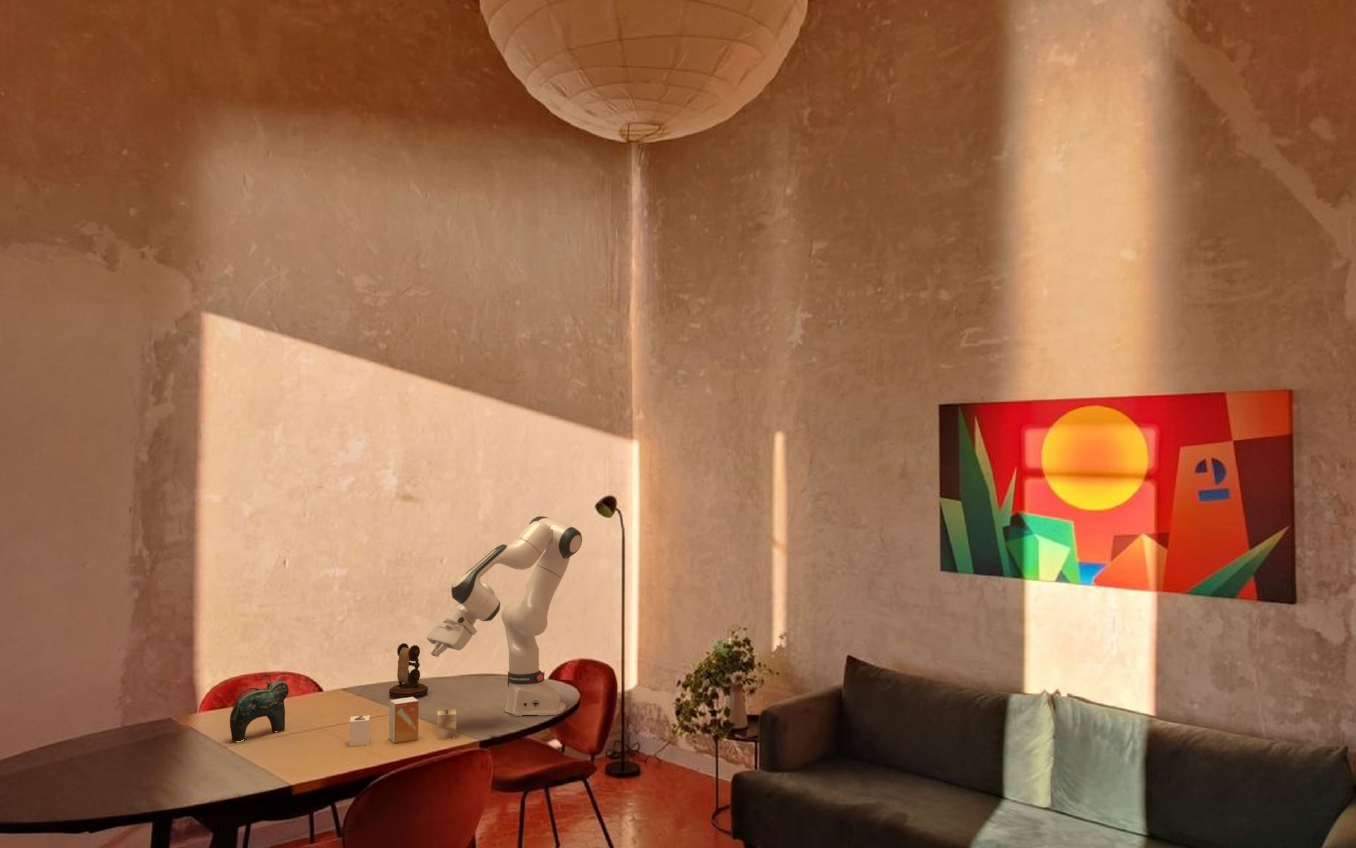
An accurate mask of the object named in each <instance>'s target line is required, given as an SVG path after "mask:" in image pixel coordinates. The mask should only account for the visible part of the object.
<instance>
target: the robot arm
mask: <svg viewBox="0 0 1356 848" xmlns="http://www.w3.org/2000/svg"><path fill="white" fill-rule="evenodd" d="M582 542H583V536H582V533H581V531H580V530H578V529H577V528H575V527H573V526H570V524H567V523H564V522H562V521H559V520H555V519H554V518H553V519H552V518H549V517H546V516H536V517H534V518H532V520H531V521H530V522H529V523H528V525H527V526H526V527H525V528H524V529H523V530H522V531H521V532H520V533H519V534H518V535H517V536H516V538H514V540H513V541H512V542H511V543H509V544H500V545H497V546H496V547H495V548H494V549H493V550H492V549H491V551H490V552H489V553H487V554H486V555H485V556H483V557H482V558H481V560H479V561H478V562H477V563H475V564H474V566H472V567H471V568H470V569H469V570H468V571H466V572H465V573H464V574H463V575H461V576H460V577H459V578H457V579H456V580H455V581H454V582H453V583H452V585H451V590H450V591H451V592H450V593H451V597H452V599H453V600H455V601H456V602H457V603H458V605H457V606H455V608H454V609H453V610H451V612H450V614H449V615H448V616H447V618H446V619H445V620H443V621H442V622H439V623H437V624H436V625H435V626H434V627H433V628H432V629H431V631H430V632H428V634H427V636H426V639H427V640H428V642H429V643H431V644H432V645H434V646H433V649H432V650H431V652H430V655H431V656H433V657H437V658H438V657H440V655H441V654H442V653H444V652H445V651H446V650H447V649H453V650H456V651H461V650H463V649H465V647H466V646H467V644H468V643H469V642H470V641H471V639H472V637H473V636H475V635H476V634H477V632H478V629H476V628H475V626H474V625H475V623H476V621H477V620H479V621H481V622H490V621H492V620H493V619H494V618H495V617H496V616H497V615H498V613H499V611H500V610H501V601H500V600H499V599H498V597H497V596H496V595H495V590H494V589H493V588H492V587H491V586H490V585H489V584H488V583H485V582H481V581H480V579H481V578H482V577H483V576H484V575H485V574H486V573H487V572H488V571H490V569H492V568H493V567H495V565H497V564H499V565H500V564H501V565H504V566H506V567H509V568H511V569H514V570H518V571H519V570H520V571H521V570H522V571H523V570H528V569H530V568H532V567H534V568H533V570H532V572H531V574H530V576H529V577H528V580H527V582H526V584H525V594H524V597H523V600H522V601H513V602H510V603H507V604H506V605H505V606H504V607H503V609H502V611H501V620H502V623H503V624H504V628H505V629H504V630H505V637H506V640H507V647H508V671H507V682H506V683H507V688H508V689H507V698H506V701H505V707H504V712H506V713H509V714H511V715H513V716H514V715H515V716H514V717H523V716H522V715H538V716H557V715H559V714H562V713H563V712H564V711H565V710H566V708H567V707H566V704H565V703H564V702H561V699H560V694H559V692H558V690H557V689H556V688H555V687H553V686H552V685H551V684H549V683H548V682H546V681H545V675H546V674H545V671H541V670H540V648H539V646H538V643H537V640H536V637H537V636H540V635H541V634H543V633H544V632H545V631H546V629H547V627H548V615H549V609H550V606H551V604H552V603H551V602H552V600H553V597H554V594H555V593H556V591H557V589H558V587H559V585H560V583H561V581H562V580H563V577H564V575H565V573H566V571H567V568H568V565H569V562H570V559H571V557H572V556H574V555H575V554H577V552H578V551H579V550H580V548H581V546H582ZM535 564H536V565H535ZM534 565H535V566H534Z"/></svg>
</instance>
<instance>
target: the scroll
mask: <svg viewBox="0 0 1356 848" xmlns="http://www.w3.org/2000/svg"><path fill="white" fill-rule="evenodd" d="M396 651H397V652H396V653H397V656H398V660H397V672H396V673H397V675H396V676H397V680H398V683H399V684H396V685H393V686H391V688H389V690H388V694H389V696H390V697H392V696H395V697H404V698H409V697H414V696H419V695H423V694H424V695H427V694H428V691H429V687H428V686H427V685H425V684H423V683H419V681H420V678H421V672H420V670H419V667H421V666H420V665H421V663H420V662H419V661H420V660H419V657H420V653H421V649H420V647H419V646H418V645H416V644H413V645H411V646H410V647H409V644H407V643H406V642H402V643H400V644H399V645H398V647H397V650H396ZM410 666H411V667H414V668H413V669H412V670H411V671H410V670H409V669H410V668H409V667H410Z"/></svg>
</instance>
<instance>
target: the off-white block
mask: <svg viewBox="0 0 1356 848" xmlns="http://www.w3.org/2000/svg"><path fill="white" fill-rule="evenodd" d="M370 716H371V715H369V714H367V715H358V716H355V715H354V716H350V719H349V747H355V746H369V745H370V741H371V737H370V735H371V734H370V731H371V725H370V724H371V723H370V722H371V719H370V718H371V717H370Z"/></svg>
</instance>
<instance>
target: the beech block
mask: <svg viewBox="0 0 1356 848" xmlns="http://www.w3.org/2000/svg"><path fill="white" fill-rule="evenodd" d="M436 711H437V712H436V714H437V715H436V716H437V717H436V720H437V721H436V723H437V724H436V725H437V726H436V727H437V728H436V729H437V730H436V731H437V732H436V733H437V740H447V739H448V738H450V739H454V738H453V737H456V738H457V710H456V709H455V708H454V709H444V710H436Z"/></svg>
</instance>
